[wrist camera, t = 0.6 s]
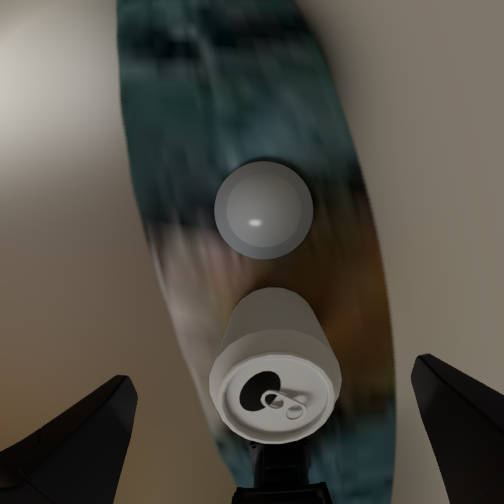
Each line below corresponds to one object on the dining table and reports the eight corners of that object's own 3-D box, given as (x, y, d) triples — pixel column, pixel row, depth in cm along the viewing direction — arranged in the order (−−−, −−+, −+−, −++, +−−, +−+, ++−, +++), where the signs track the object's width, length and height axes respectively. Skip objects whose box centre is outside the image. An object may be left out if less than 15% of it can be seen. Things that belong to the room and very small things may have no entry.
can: (256, 268, 25) (247, 314, 13) (330, 309, 25) (376, 377, 13) (215, 339, 26) (181, 421, 14) (286, 375, 26) (297, 467, 14)
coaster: (315, 254, 24) (316, 255, 24) (220, 261, 25) (218, 263, 24) (307, 159, 24) (308, 158, 23) (212, 167, 24) (210, 166, 23)
